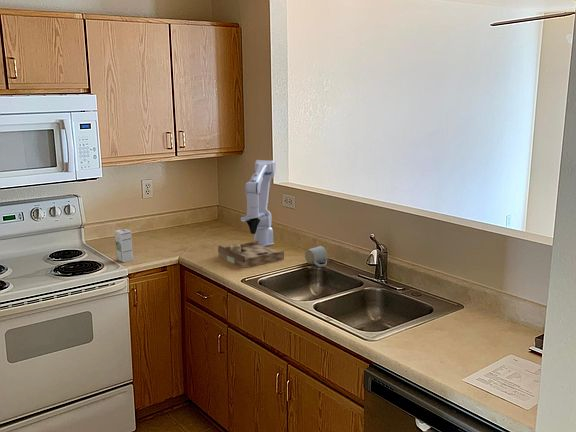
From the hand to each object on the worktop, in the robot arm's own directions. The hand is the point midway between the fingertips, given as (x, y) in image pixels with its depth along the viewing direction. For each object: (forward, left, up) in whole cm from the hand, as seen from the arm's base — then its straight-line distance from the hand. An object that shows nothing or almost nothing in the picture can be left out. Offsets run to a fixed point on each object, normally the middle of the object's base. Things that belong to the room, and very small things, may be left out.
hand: (253, 233), depth 281 cm
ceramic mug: (-14, +33, -10) cm, 37 cm away
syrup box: (+55, -27, -10) cm, 62 cm away
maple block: (+13, +4, -7) cm, 15 cm away
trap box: (+6, +6, -10) cm, 13 cm away
